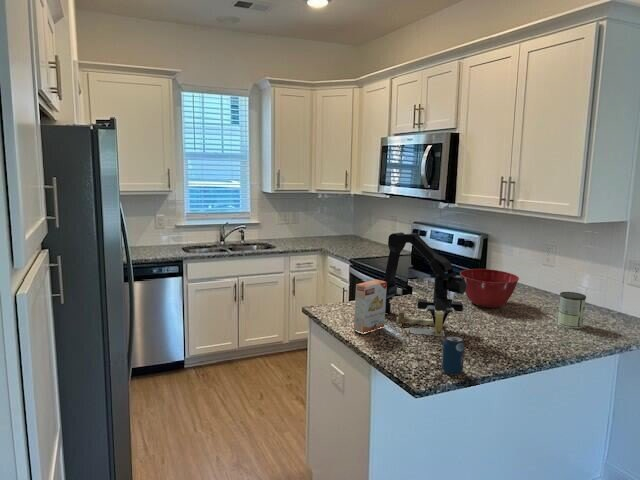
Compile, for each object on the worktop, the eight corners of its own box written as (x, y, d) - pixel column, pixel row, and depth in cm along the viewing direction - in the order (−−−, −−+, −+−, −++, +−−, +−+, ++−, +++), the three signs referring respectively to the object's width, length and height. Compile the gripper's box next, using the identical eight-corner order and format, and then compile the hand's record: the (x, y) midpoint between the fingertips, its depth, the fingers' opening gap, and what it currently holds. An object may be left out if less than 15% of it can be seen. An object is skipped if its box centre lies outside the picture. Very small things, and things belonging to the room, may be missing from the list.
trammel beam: (395, 329, 199) (396, 316, 198) (396, 321, 210) (397, 308, 209) (443, 333, 196) (444, 319, 195) (442, 325, 206) (443, 312, 205)
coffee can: (555, 319, 216) (558, 290, 214) (580, 322, 213) (583, 292, 211) (558, 326, 207) (562, 296, 205) (584, 330, 204) (588, 298, 201)
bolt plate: (395, 332, 195) (395, 331, 195) (396, 327, 202) (396, 326, 202) (444, 337, 192) (444, 335, 192) (443, 331, 198) (443, 329, 198)
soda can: (465, 375, 156) (468, 341, 154) (445, 376, 155) (448, 342, 153) (457, 367, 163) (460, 334, 161) (438, 367, 162) (440, 334, 160)
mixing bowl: (517, 315, 222) (520, 284, 220) (456, 308, 232) (458, 278, 229) (515, 300, 248) (517, 271, 246) (459, 294, 258) (461, 266, 256)
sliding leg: (435, 333, 195) (436, 317, 194) (434, 324, 206) (435, 309, 205) (442, 333, 195) (443, 317, 194) (441, 325, 205) (442, 310, 204)
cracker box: (364, 336, 191) (365, 286, 188) (353, 332, 195) (354, 283, 192) (385, 328, 200) (387, 281, 197) (374, 325, 205) (376, 278, 201)
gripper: (418, 292, 192) (416, 328, 194) (465, 295, 188) (463, 332, 191) (418, 285, 203) (416, 320, 205) (462, 288, 199) (460, 323, 202)
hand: (438, 324), depth 200 cm, fingers closed on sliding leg, 3 cm apart
